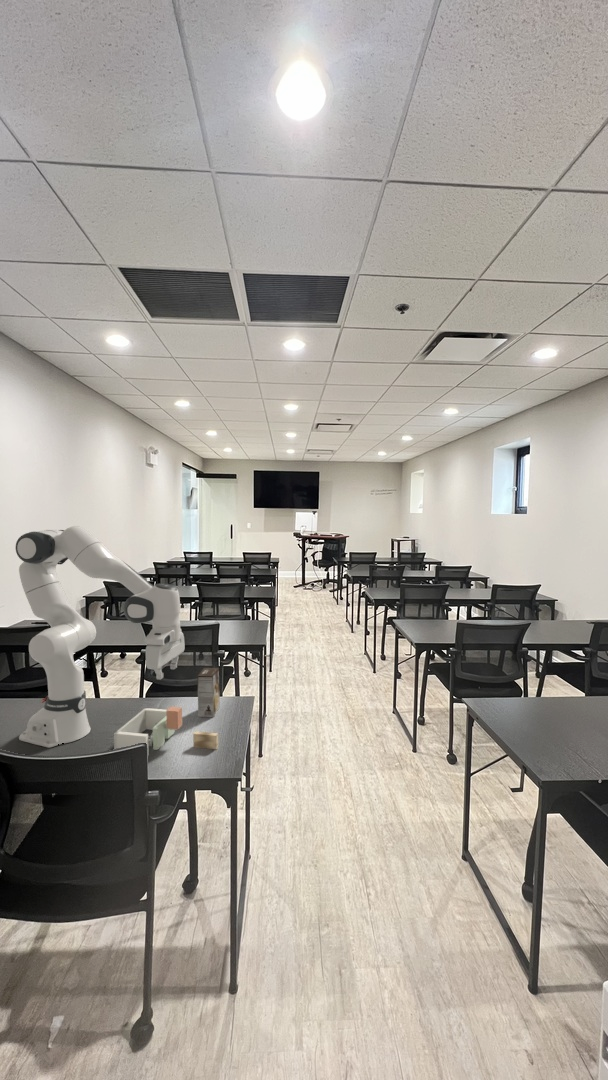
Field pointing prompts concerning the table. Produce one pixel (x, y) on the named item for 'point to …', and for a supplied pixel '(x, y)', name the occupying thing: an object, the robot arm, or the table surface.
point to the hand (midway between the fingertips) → (166, 673)
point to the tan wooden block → (205, 740)
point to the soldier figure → (151, 738)
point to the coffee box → (208, 692)
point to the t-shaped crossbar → (167, 726)
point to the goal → (138, 728)
